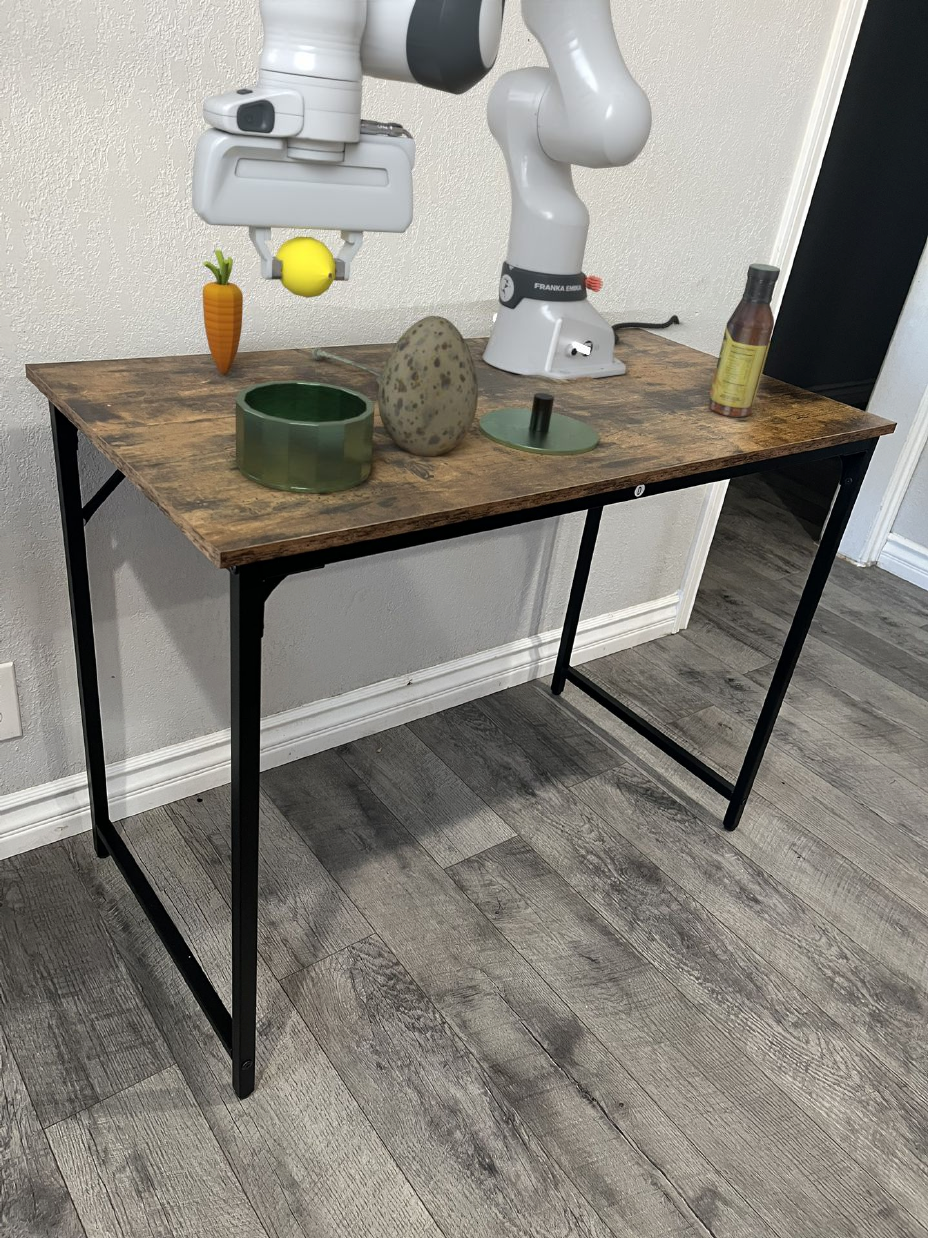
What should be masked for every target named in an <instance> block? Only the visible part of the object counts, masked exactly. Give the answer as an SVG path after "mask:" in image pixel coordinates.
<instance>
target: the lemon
mask: <svg viewBox="0 0 928 1238" xmlns="http://www.w3.org/2000/svg"><path fill="white" fill-rule="evenodd" d="M275 257H277V258H278V259H280V260H282V269H281V270H280V271H281V273H282V278H281V280H279V281H280V283H281V285H282V287H283V288H285V289H286V290H288V291H289V292H290V293H291V294H293V295H295V296H298V297H303V298H307V299H308V298H314V297H319V296H321V295H323V294H324V293H326V291H328V290H329V289H330V287H331V286H332V284H333V282H334V281H335V280H334V279H335V266H336V265H335V261H334V258H335V257H334V255H333V253H332V251H330V249H329V247H328V246H326V244H325V243H324V242H322V241H320V240H318V239H316V238H314V237H312V236H295V237H293V238H291V239H288V240H286V241H284V242H283V243H282V244H281V246H280V247H279V248H278V249H277V252H276V255H275Z"/></svg>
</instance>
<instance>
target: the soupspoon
mask: <svg viewBox="0 0 928 1238" xmlns="http://www.w3.org/2000/svg"><path fill="white" fill-rule="evenodd" d="M311 355H312V358H313V359H314V360H315V361H320V360H322V359H327V360H330V359H333V360H335V361H339V362H341V363H344V364H345V365H346V364H347V365H348V366H352V367H355V368H357V369H360V370H362V371H365V372H367V373H369V374H371V375H372V376H374V377H376V383H377V385H379V384H380V379H381V375H382V372H381V371H378V370H377V369H374V368H372V367H369V366H367V365H364V364H362V363H359V362H356V361H353V360H350V359H348V358H344V357H341V356H338V355H334V354H332V353H331V352H330V351H329V352H327V351H325V350H323V349H322V348H320V347H315V348H314V349H312V351H311Z"/></svg>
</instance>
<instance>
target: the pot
mask: <svg viewBox="0 0 928 1238" xmlns="http://www.w3.org/2000/svg"><path fill="white" fill-rule="evenodd" d="M374 424H375V403H374V401H372V400H371V399H369V398H368V397H367V396H366V395H365V394H363V393H360V392H358V391H356V390H352V389H350V388H347V387H345V386H339V385H335V384H330V383H324V382H317V381H306V380H305V381H304V380H272V381H271V380H270V381H266V382H261V383H255V384H251V385H248V386H247V387H245V388H243V389H241V390H240V391H238V392H237V395H236V398H235V463H236V467H237V470H238V471H239V473H240V474H241V475H242V476H243V477H245V478H246V479H247V480H249V481H251V482H253V483H255V484H257V485H260V486H263V487H265V488H269V489H270V488H271V489H274V490H279V491H283V492H290V493H302V494H324V493H325V494H326V493H334V492H339V491H346V490H348V489H349V490H350V489H352V488H354V487H358V486H359V485H361V484H363V483H364V482H365V481H366V480H367V479H368V478H369V476H370V472H371V467H372V454H373V453H372V452H373V442H374V441H373V439H374V427H375V425H374Z"/></svg>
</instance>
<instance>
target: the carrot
mask: <svg viewBox="0 0 928 1238" xmlns="http://www.w3.org/2000/svg"><path fill="white" fill-rule="evenodd" d="M214 253H215V257H216V260H217V263H218V266H219V267H218V266H215V265H214V264H213V263H211V262H210V261H209V260H205V261H203V266H204V267H206V268H207V269H208V270H210V272H211V273H212V274H213V275H214V278H215V280H216V281H211V282H208V283H206V284H205V285H203V288H202V309H203V310H202V311H203V322H204V323H203V325H204V329H205V330H204V331H205V335H206V339H207V340H206V341H207V344H208V348H209V351H210V354H211V356H212V360H213V362H214V364H215V365H216V368H217V369H218V372H219V373H220V374H221V375H223V376H225V375H226V374H227V373H228V372H229V371H230V369H231V368H232V366H233V363H234V361H235V359H236V357H237V354H238V350H239V345H240V341H241V334H242V330H243V329H242V327H243V309H244V308H243V306H244V304H243V303H244V302H243V301H244V297H243V296H244V295H243V291H242V289H240V288H239V286H238V285H237V284H236V283H232V282H229V280H230V276H231V273H232V270H233V262H234V260H233V258H232V257H231V256H227V259H226V258H224V255H223V252H222V250H219V249H217V250H215V251H214Z"/></svg>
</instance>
